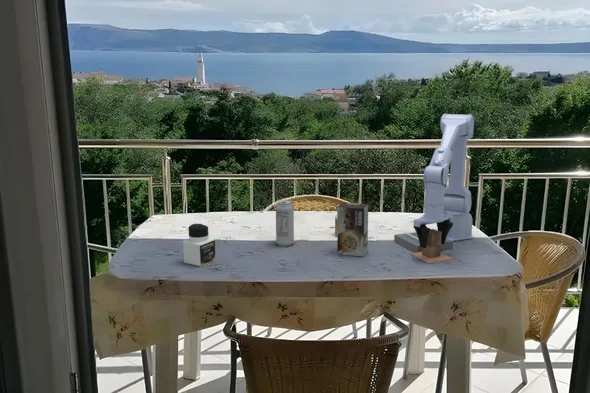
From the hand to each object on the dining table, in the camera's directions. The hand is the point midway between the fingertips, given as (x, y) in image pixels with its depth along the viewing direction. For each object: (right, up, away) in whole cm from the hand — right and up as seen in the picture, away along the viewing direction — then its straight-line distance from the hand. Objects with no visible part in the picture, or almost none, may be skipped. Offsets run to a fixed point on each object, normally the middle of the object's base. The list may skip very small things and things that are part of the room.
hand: (432, 245), depth 180 cm
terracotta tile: (0, -4, +1) cm, 4 cm away
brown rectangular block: (0, -3, +1) cm, 3 cm away
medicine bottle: (-73, -5, -2) cm, 74 cm away
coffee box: (-25, -3, +6) cm, 26 cm away
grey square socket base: (0, -1, +14) cm, 14 cm away
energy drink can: (-47, -1, +15) cm, 49 cm away
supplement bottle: (-26, +1, +25) cm, 37 cm away
